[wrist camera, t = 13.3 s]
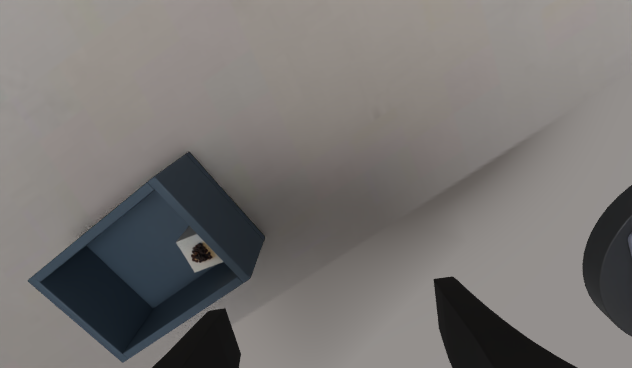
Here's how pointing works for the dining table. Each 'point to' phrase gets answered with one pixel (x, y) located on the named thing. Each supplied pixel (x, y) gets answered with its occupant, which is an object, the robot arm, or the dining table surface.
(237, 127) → the dining table surface
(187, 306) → the bin
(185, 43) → the dining table surface
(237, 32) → the dining table surface
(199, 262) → the cube with brown bumps
